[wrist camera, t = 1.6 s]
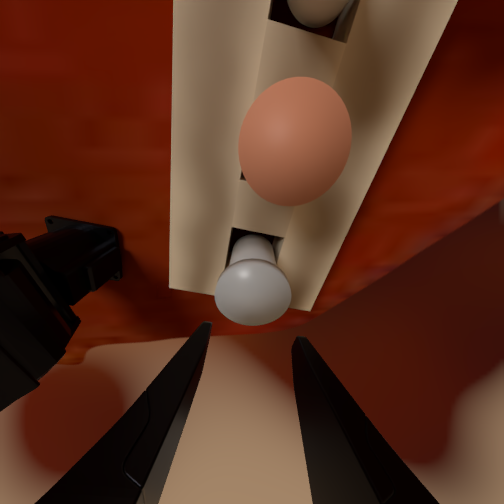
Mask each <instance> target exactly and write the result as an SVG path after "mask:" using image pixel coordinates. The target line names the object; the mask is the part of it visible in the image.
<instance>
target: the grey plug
mask: <svg viewBox="0 0 504 504" xmlns="http://www.w3.org/2000/svg"><path fill="white" fill-rule="evenodd" d="M215 302H216V305H217V307H218V309H219V310H220V311H221V313H222V314H223V315H224V316H226V317H227V318H228V319H230V320H232V321H234V322H236V323H239V324H243V325H253V326H255V325H263V324H267V323H270V322H272V321H274V320H276V319H278V318H279V317H280V316H282V315H283V314H284V313H285V312H286V310H287V309H288V307H289V305H290V302H291V289H290V286H289V282H288V279H287V277H286V275H285V273H284V272H283V271H282V270H281V269H280V268H279V267H278V266H277V265H276V261H275V256H274V252H273V247H272V245H271V243H270V242H269V241H268V240H267V239H266V238H265V237H263V236H261V235H257V234H249V235H245V236H243V237H241V238H240V239H238V240H237V242H236V243H235V244H234V247H233V250H232V255H231V260H230V264H229V266H228V267H227V268H226V269H225V270H224V271H223V272H222V273H221V275H220V277H219V279H218V282H217V286H216V289H215Z"/></svg>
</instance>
